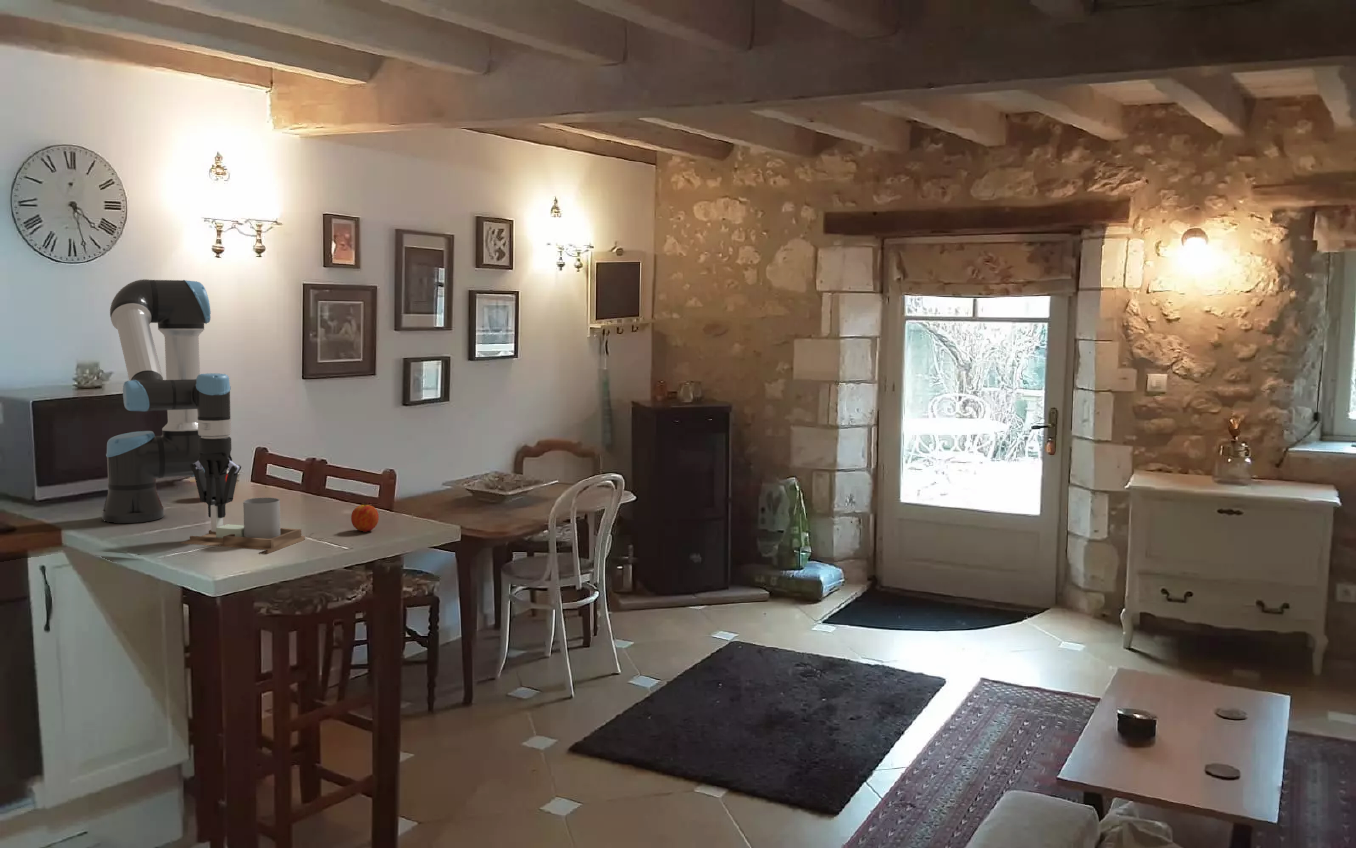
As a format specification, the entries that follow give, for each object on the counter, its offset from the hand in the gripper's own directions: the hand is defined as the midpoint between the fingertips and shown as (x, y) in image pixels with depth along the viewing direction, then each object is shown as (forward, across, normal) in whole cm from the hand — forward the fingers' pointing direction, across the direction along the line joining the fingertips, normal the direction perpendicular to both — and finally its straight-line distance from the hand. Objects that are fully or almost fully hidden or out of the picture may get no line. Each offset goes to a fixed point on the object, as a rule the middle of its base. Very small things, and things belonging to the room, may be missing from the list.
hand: (217, 530), depth 270 cm
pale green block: (+2, +5, 0) cm, 5 cm away
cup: (+2, +12, 0) cm, 13 cm away
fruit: (+3, +28, +22) cm, 36 cm away
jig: (+3, +7, 0) cm, 8 cm away
